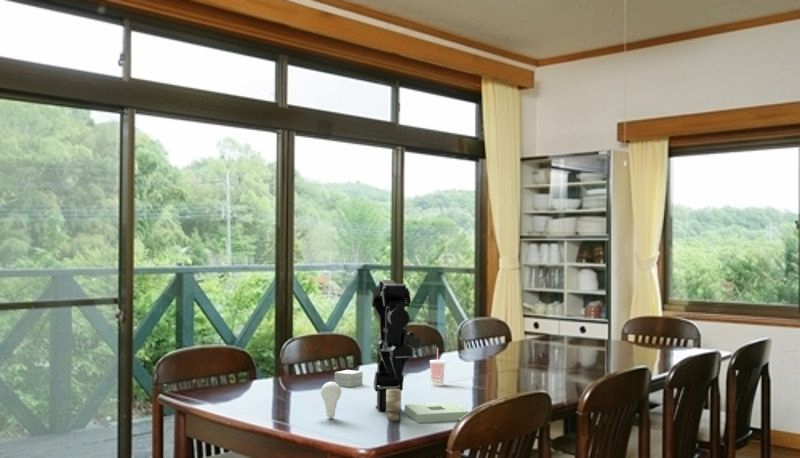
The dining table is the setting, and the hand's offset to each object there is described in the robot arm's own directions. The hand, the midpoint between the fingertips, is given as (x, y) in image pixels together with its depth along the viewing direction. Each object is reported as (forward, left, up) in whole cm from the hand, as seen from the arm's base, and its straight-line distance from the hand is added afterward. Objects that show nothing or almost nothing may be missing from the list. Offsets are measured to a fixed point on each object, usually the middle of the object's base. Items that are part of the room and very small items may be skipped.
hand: (394, 376), depth 226 cm
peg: (0, 0, -13) cm, 13 cm away
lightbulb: (-18, +6, -13) cm, 23 cm away
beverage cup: (+32, +52, -13) cm, 62 cm away
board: (+14, +1, -13) cm, 19 cm away
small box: (-1, +59, -13) cm, 61 cm away
